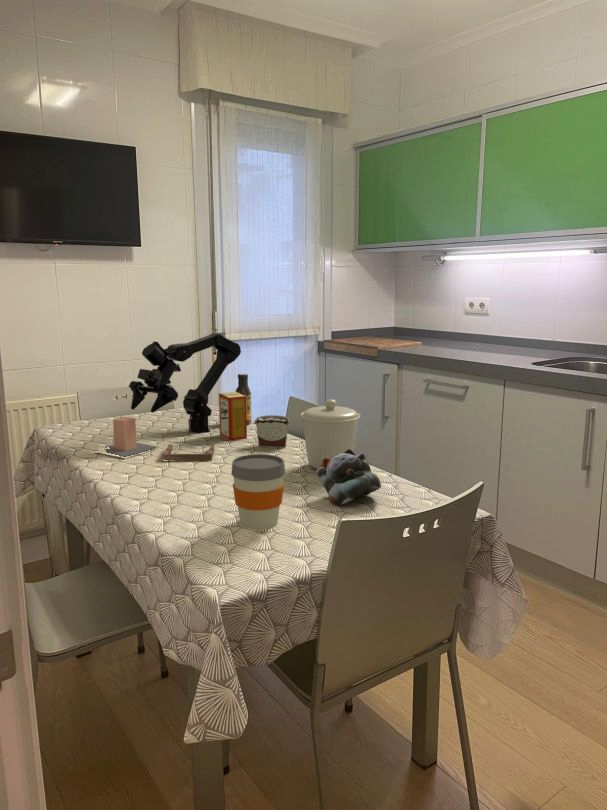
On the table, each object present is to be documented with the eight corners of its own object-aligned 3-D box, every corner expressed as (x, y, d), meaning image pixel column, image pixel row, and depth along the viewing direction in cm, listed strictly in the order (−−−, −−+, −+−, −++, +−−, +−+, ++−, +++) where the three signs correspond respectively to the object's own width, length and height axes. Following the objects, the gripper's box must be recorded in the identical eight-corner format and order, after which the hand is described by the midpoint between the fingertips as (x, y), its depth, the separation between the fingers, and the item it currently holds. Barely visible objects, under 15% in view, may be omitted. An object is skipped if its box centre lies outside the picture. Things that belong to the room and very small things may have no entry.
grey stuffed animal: (329, 509, 155) (312, 456, 157) (328, 511, 166) (312, 462, 169) (386, 491, 156) (368, 438, 158) (380, 493, 167) (363, 445, 170)
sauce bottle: (250, 425, 244) (250, 375, 240) (234, 425, 244) (233, 375, 240) (252, 421, 250) (251, 373, 246) (236, 421, 250) (236, 372, 246)
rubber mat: (126, 443, 216) (126, 440, 216) (156, 449, 209) (156, 446, 208) (94, 452, 204) (94, 449, 204) (124, 459, 197) (124, 456, 197)
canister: (355, 477, 180) (357, 406, 176) (294, 473, 183) (294, 404, 179) (362, 460, 197) (363, 395, 193) (306, 456, 201) (307, 393, 197)
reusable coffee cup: (285, 512, 153) (285, 453, 150) (285, 532, 141) (285, 469, 138) (234, 512, 153) (233, 453, 150) (230, 532, 140) (228, 469, 137)
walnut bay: (168, 450, 207) (168, 444, 207) (214, 449, 208) (214, 444, 208) (163, 461, 195) (162, 455, 195) (211, 460, 196) (211, 454, 196)
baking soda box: (246, 438, 223) (246, 395, 220) (230, 440, 220) (229, 396, 217) (236, 433, 231) (235, 391, 228) (219, 435, 228) (219, 392, 225)
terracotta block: (126, 445, 209) (124, 416, 207) (136, 447, 207) (135, 418, 205) (114, 448, 205) (112, 419, 203) (125, 450, 203) (123, 421, 201)
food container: (292, 443, 217) (292, 415, 215) (290, 447, 211) (290, 419, 209) (257, 442, 219) (257, 414, 217) (254, 446, 213) (254, 418, 211)
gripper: (131, 358, 216) (108, 394, 209) (171, 361, 207) (148, 399, 200) (148, 377, 224) (127, 412, 217) (187, 381, 215) (166, 418, 208)
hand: (141, 410), depth 210 cm, fingers open, 9 cm apart
